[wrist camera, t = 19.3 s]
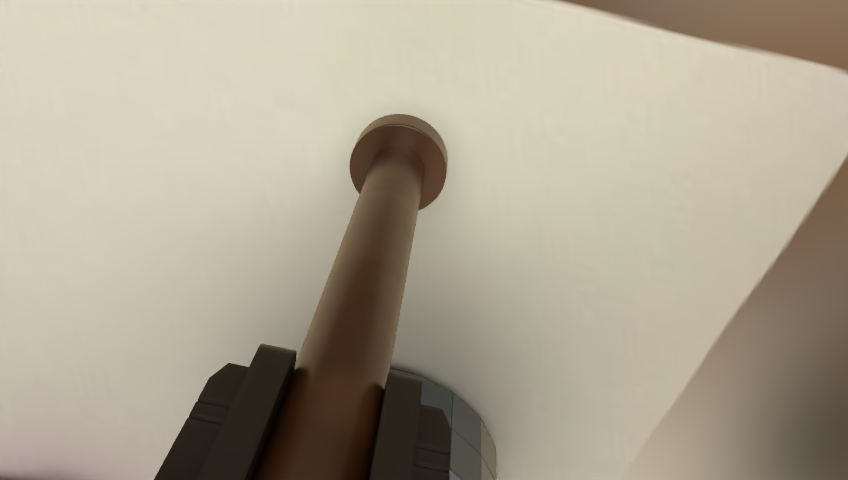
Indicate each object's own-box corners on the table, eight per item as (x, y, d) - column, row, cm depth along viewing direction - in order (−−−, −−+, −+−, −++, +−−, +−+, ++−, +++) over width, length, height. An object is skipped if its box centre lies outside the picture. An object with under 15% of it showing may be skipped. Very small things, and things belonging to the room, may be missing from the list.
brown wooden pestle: (456, 125, 24) (420, 590, 8) (436, 209, 26) (374, 726, 10) (362, 104, 24) (137, 536, 8) (348, 190, 25) (142, 683, 10)
